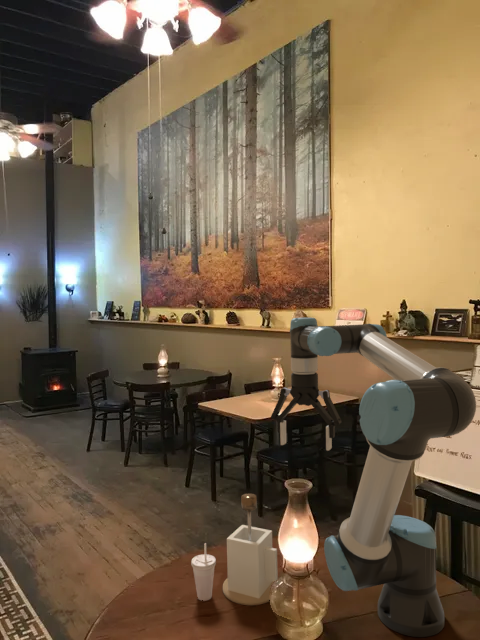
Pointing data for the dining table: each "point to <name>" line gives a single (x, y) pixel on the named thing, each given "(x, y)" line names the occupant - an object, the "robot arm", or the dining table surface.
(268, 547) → the press
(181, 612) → the dining table surface
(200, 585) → the smoothie
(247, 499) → the plunger
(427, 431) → the robot arm
